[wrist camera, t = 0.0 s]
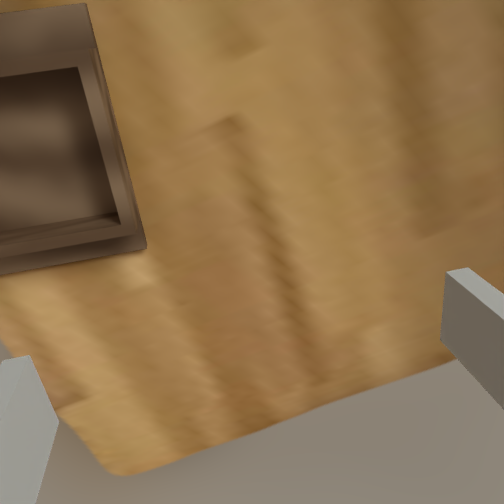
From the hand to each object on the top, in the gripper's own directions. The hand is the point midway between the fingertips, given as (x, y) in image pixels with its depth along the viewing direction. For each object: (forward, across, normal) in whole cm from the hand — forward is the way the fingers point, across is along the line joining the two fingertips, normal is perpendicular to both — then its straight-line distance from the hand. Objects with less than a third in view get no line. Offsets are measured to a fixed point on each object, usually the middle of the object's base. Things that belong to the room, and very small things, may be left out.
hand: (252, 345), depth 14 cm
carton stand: (+28, -13, +2) cm, 31 cm away
